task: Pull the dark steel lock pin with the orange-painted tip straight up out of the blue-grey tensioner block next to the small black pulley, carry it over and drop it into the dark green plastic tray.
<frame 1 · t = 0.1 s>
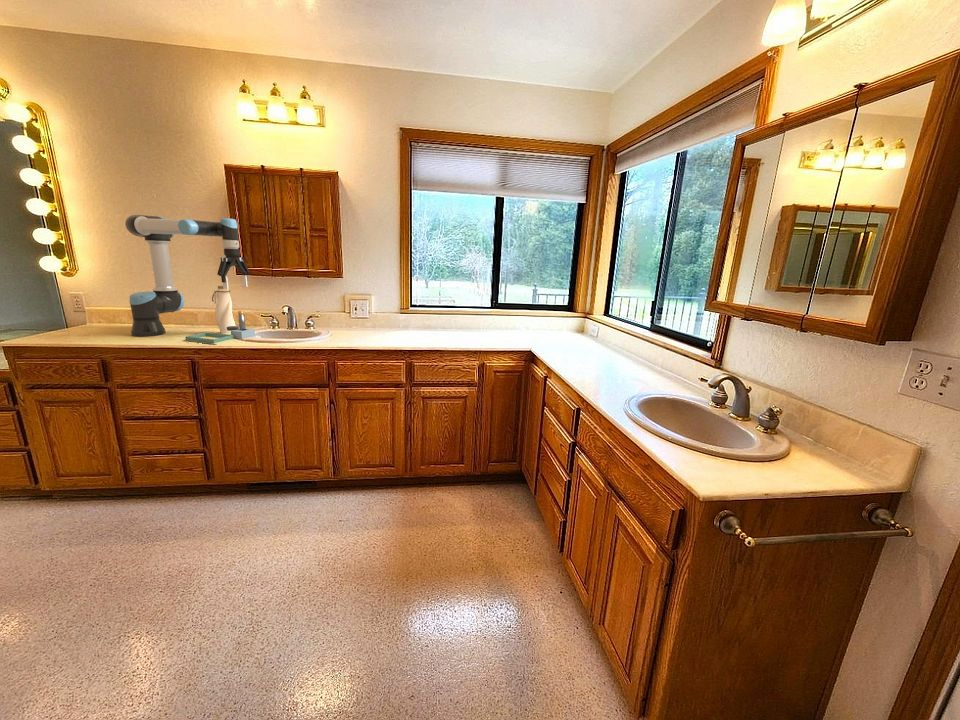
hand: (235, 287, 227), 28 cm above the counter, fingers open, 13 cm apart
lock pin: (243, 336, 231), point 1 cm above the counter, touching tensioner block
tray: (210, 341, 221), on the counter
tensioner block: (239, 337, 232), on the counter
water bottle: (226, 334, 240), on the counter
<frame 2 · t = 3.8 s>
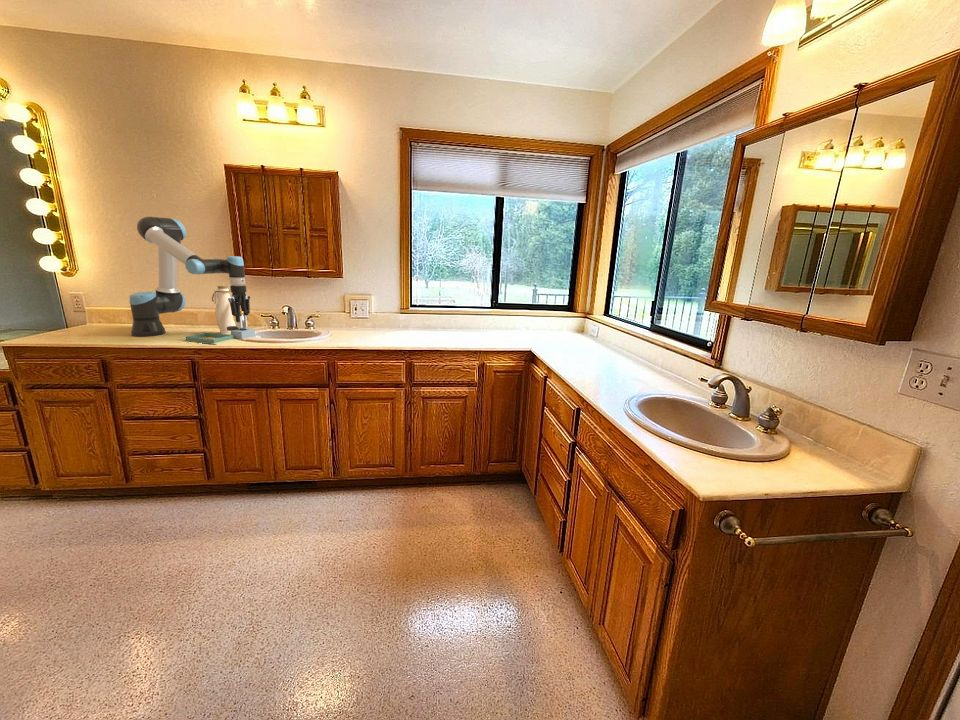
hand: (242, 327, 229), 7 cm above the counter, fingers closed on lock pin, 3 cm apart
lock pin: (243, 336, 231), point 1 cm above the counter, touching gripper
everything else where it was.
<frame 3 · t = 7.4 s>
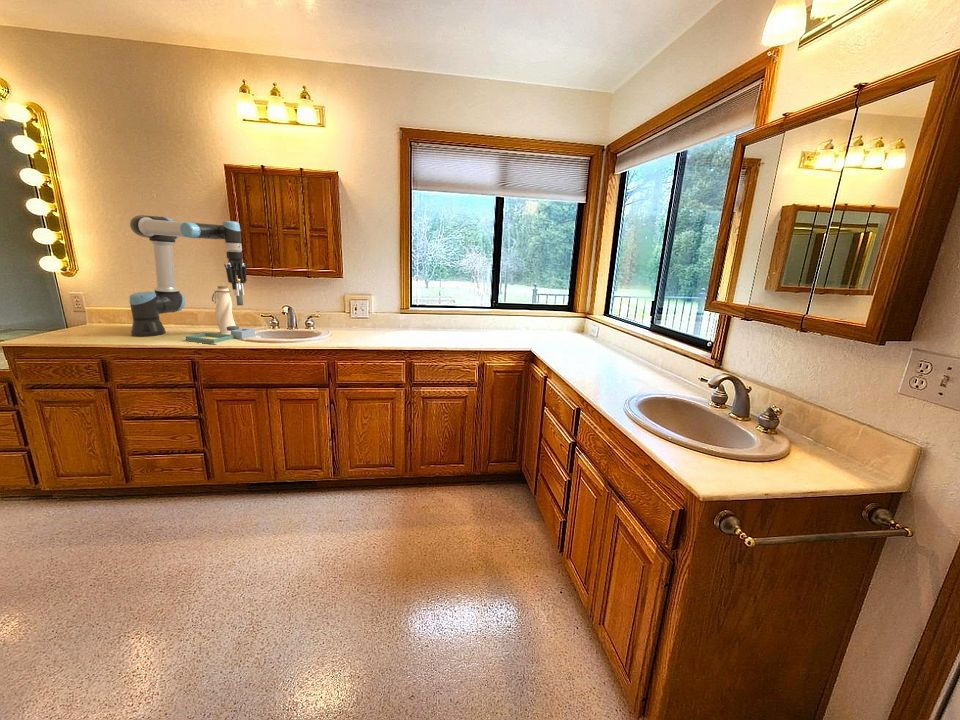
hand: (239, 295, 225), 25 cm above the counter, fingers closed on lock pin, 3 cm apart
lock pin: (240, 305, 226), point 19 cm above the counter, touching gripper
everything else where it was.
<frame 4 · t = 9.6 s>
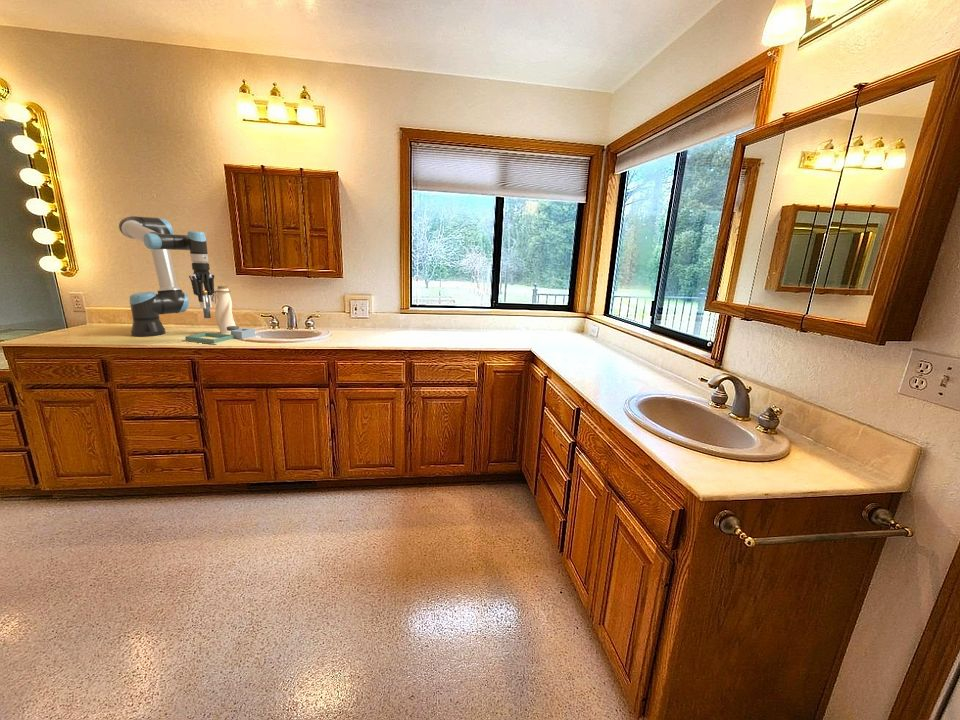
hand: (206, 307, 216), 18 cm above the counter, fingers closed on lock pin, 3 cm apart
lock pin: (207, 317, 218), point 13 cm above the counter, touching gripper
everything else where it was.
when the fingers open (7 cm above the counter, at t = 11.4 s): lock pin drops 1 cm, resting on tray.
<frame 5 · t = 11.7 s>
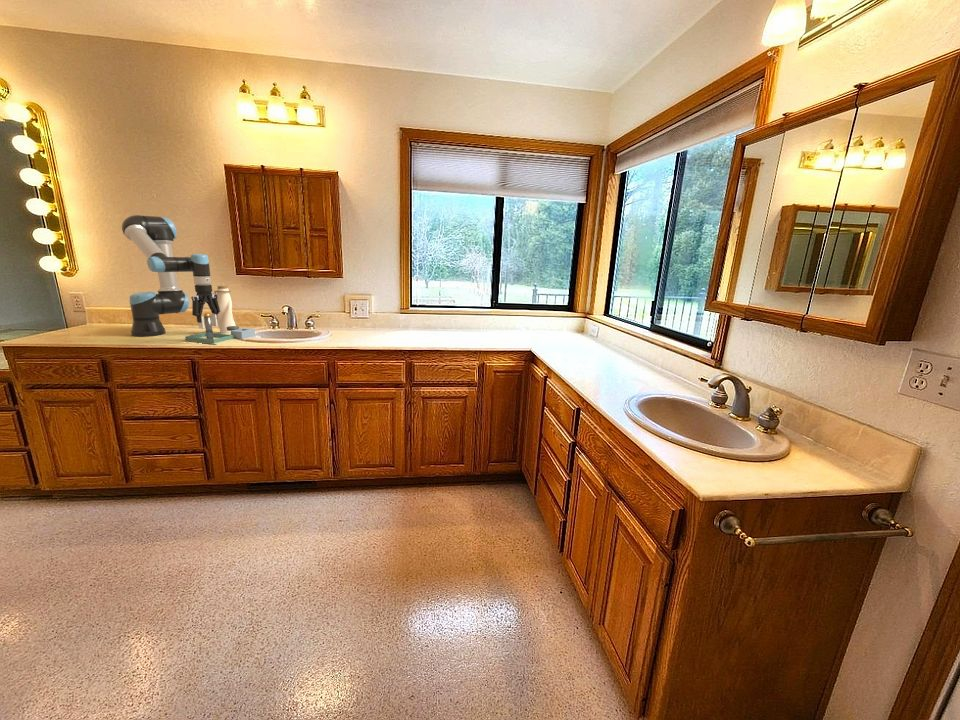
hand: (208, 327, 219), 8 cm above the counter, fingers open, 8 cm apart
lock pin: (210, 340, 221), point 1 cm above the counter, touching tray
everything else where it was.
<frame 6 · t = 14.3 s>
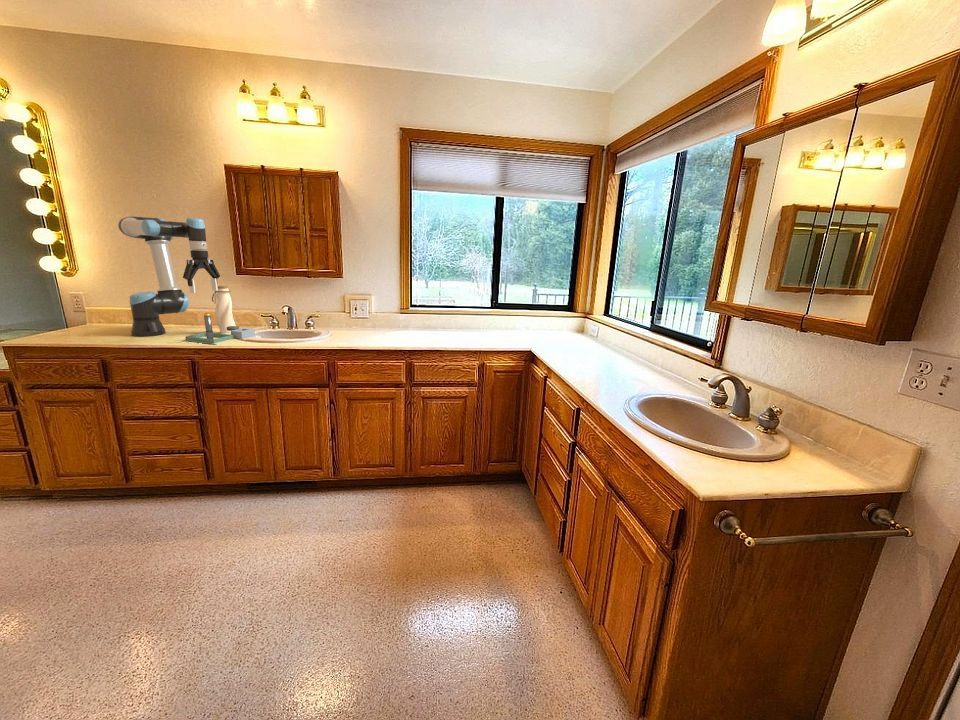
hand: (204, 291, 214), 27 cm above the counter, fingers open, 13 cm apart
nothing on the counter moved.
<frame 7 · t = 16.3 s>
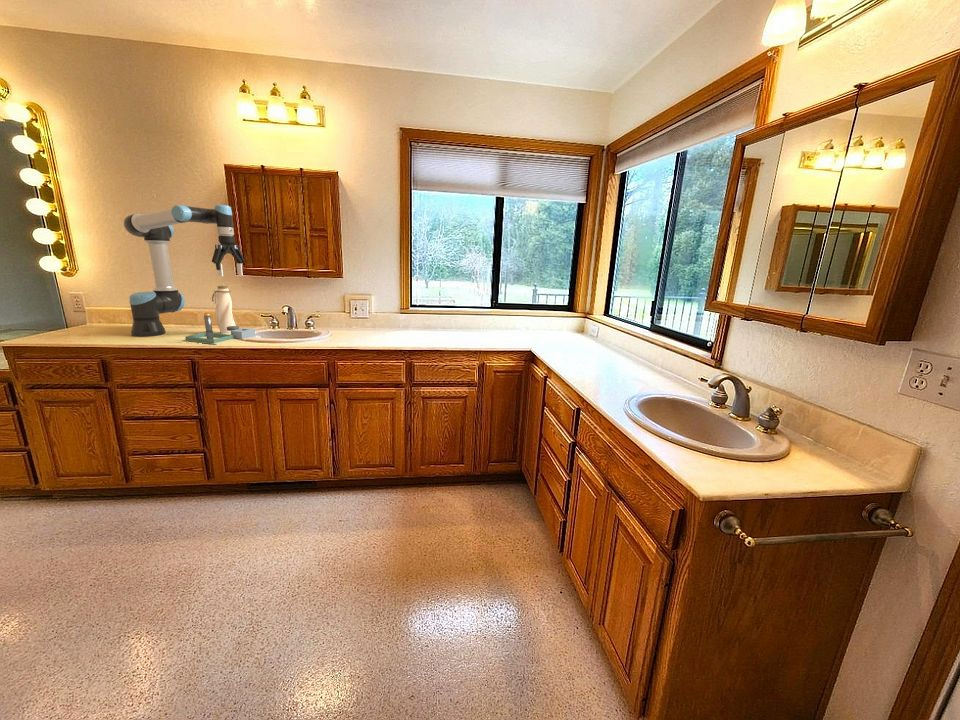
hand: (230, 275, 224), 35 cm above the counter, fingers open, 13 cm apart
nothing on the counter moved.
at the end: lock pin inside the target area on the tray (0.1 cm from its centre), point 0.6 cm above the tray's base; the gripper is holding nothing; lock pin moved 15.9 cm from its start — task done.
